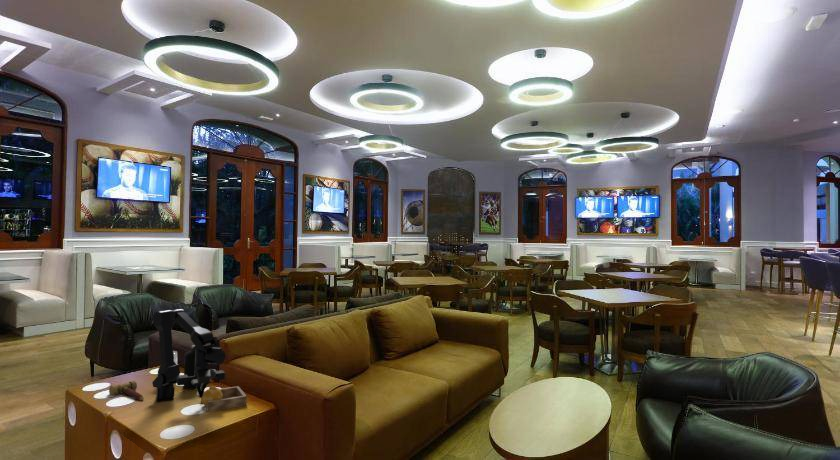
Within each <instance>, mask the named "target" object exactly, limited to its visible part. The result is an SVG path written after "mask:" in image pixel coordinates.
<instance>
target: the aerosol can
mask: <svg viewBox="0 0 840 460" xmlns="http://www.w3.org/2000/svg"><path fill="white" fill-rule="evenodd" d="M193 347H195V345H194V344H193V345H191V349H190V350H188V351H187V352H185V353H184V355H183V356H184V363H183V364H184V366H183V367H184V369H183V370H184V371H183V375H187V376H188V377H190V376H194V370H195V351H194V350H192V348H193ZM182 388H183V389H184V390H195V389H196V390H197V388H196V386H195V385H192V383H191V381H188V383H187V384H186V385H182ZM200 388H201V385H200Z"/></svg>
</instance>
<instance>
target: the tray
mask: <svg viewBox="0 0 840 460" xmlns="http://www.w3.org/2000/svg"><path fill="white" fill-rule="evenodd" d="M219 389H220V390H221V392H222V395H223V398H222V399H220V400H214V401H208V402H207V406H206V412H207V413H209V412H216V411H222V410H228V409H231V408H239V407H243V406H247V403H248V402H247V401H248V400H247V397H248V395H246V393H245V392H244V391H243V389H241V387H240V386H239V385H237V386H232V387H231V386H229V387H223V388H219ZM205 391H206V390H204V392H205ZM204 392H203V394H204ZM202 396H203V395H202ZM200 399H201V400H200V401H201V402H202V397H201V398H200Z"/></svg>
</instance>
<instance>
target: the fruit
mask: <svg viewBox="0 0 840 460" xmlns="http://www.w3.org/2000/svg"><path fill="white" fill-rule="evenodd" d="M220 389H221V388H218V387H216V386H214V385H212V386H209V388H208V389H205V390H204V391H205V392H204V394H203V396H202V401H201V402H202V404H203V405H204V406H205V407H207V402H208V401H214V400H220V399H224V398H223V395H222V392H221V390H220Z"/></svg>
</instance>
